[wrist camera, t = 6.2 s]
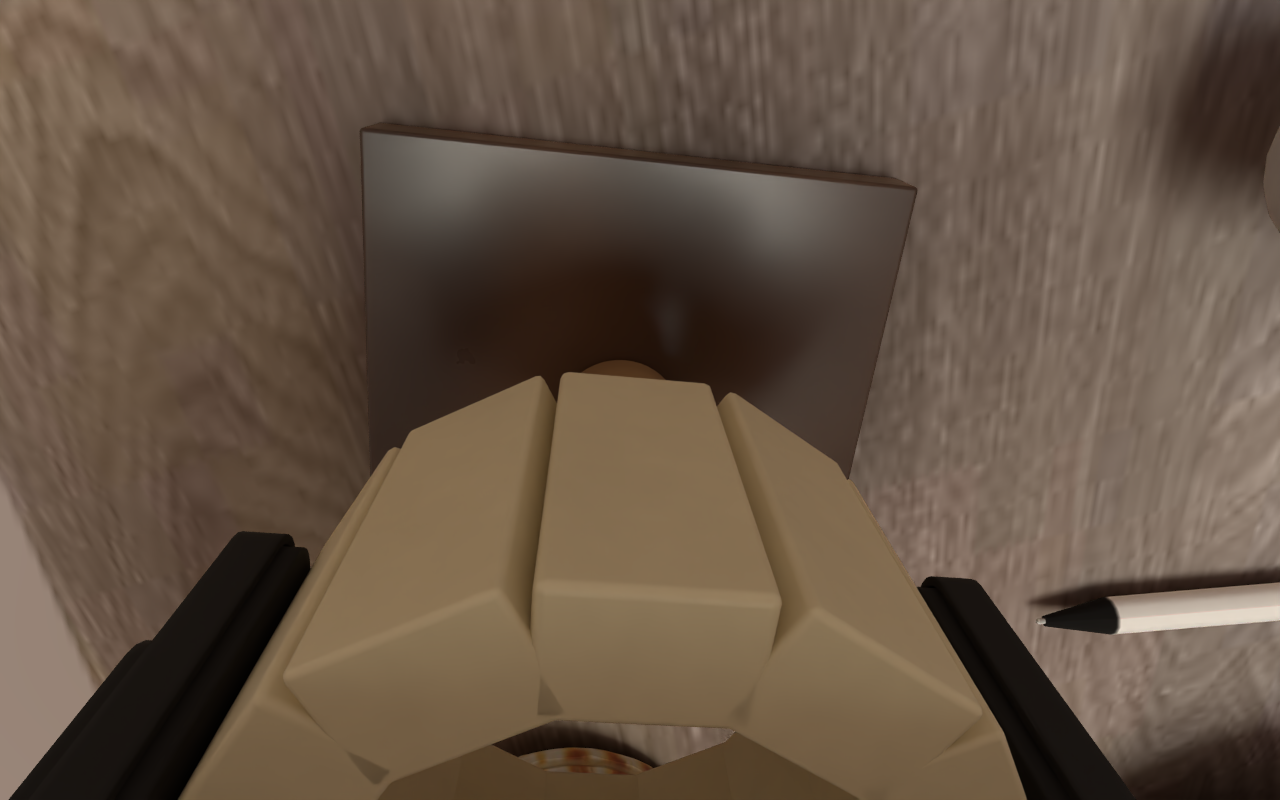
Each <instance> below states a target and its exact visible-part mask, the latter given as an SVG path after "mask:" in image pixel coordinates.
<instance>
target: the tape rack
mask: <svg viewBox="0 0 1280 800" xmlns="http://www.w3.org/2000/svg"><path fill="white" fill-rule="evenodd" d="M360 151H361V185H362V218H363V251H364V285H365V318H366V352H367V385H368V419H369V452H370V477H371V475H372V474H373V472H374V471H375V469H376V468H377V467H378V465H379V464H380V462H381V461H382V459H383V458H384V456H385V455H386V453H387V452H388V451H389V450H390V449H392V448H394V447H396V448H400V449H401V448H402V446H403V444H404V442H405V440H406V438H407V436H408V434H409V433H410V432H411V431H412V430H414V429H416V428H419V427H421V426H423V425H426V424H428V423H430V422H432V421H435V420H437V419H439V418H442V417H444V416H446V415H448V414H451V413H453V412H455V411H458V410H460V409H462V408H464V407H467V406H469V405H471V404H474V403H476V402H478V401H480V400H483V399H485V398H487V397H490V396H492V395H494V394H496V393H499V392H501V391H503V390H506V389H508V388H510V387H512V386H515V385H517V384H519V383H522V382H524V381H526V380H528V379H531V378H533V377H535V376H541V377H542V378H543V379H544V380H545V382H546V384H547V386H548V388H549V390H550V391H551V393H552V395H553V397H554V399H555V401H556V403H557V400H558V392H559V385H560V379H561V377H562V375H563V374H564V373H568V372H573V373H585V374H597V375H609V376H621V377H633V378H645V379H657V380H669V381H681V382H693V383H704V384H706V385H708V386H710V388H711V391H712V394H713V397H714V400H715V403H716V406H718V405H719V403H720V402H721V401H722V400H723V399H724V397H725V396H726V395H727V394H729V393H730V392H731V393H735V394H737V395H738V396H740V397H741V398H743V399H744V400H746V401H747V402H749V403H750V404H752V405H753V406H754V407H756V408H757V409H759V410H760V411H762V412H763V413H765V414H766V415H768V416H769V417H771V418H772V419H773V420H775V421H776V422H778V423H779V424H781V425H782V426H784V427H785V428H787V429H788V430H790V431H791V432H792V433H794V434H795V435H797V436H798V437H800V438H801V439H803V440H804V441H806V442H807V443H809V444H810V445H811V446H813V447H814V448H816V449H817V450H819V451H820V452H822V453H823V454H825V455H826V456H828V457H829V458H830V459H832V460H833V461H835V462H836V463H837V464H838V466H839V467H840V469H841V471H842V472H843V474H844V476H845V477H846V479H847V480H848V479H849V475H850V470H851V466H852V462H853V458H854V454H855V450H856V445H857V441H858V437H859V433H860V429H861V424H862V420H863V416H864V412H865V408H866V404H867V399H868V395H869V391H870V387H871V383H872V378H873V374H874V370H875V366H876V362H877V358H878V353H879V349H880V345H881V341H882V337H883V332H884V328H885V324H886V320H887V316H888V312H889V307H890V303H891V299H892V295H893V291H894V287H895V282H896V278H897V274H898V270H899V266H900V261H901V257H902V253H903V249H904V245H905V241H906V236H907V232H908V228H909V224H910V220H911V215H912V211H913V207H914V203H915V199H916V195H917V188H916V187H914V186H912V185H910V184H908V183H905V182H903V181H901V180H898V179H896V178H888V177H879V176H870V175H860V174H851V173H842V172H832V171H823V170H814V169H805V168H795V167H786V166H777V165H768V164H758V163H749V162H740V161H731V160H721V159H712V158H703V157H694V156H684V155H675V154H666V153H657V152H647V151H638V150H629V149H620V148H610V147H601V146H592V145H583V144H573V143H564V142H555V141H546V140H536V139H527V138H518V137H509V136H499V135H490V134H481V133H472V132H462V131H453V130H444V129H435V128H425V127H416V126H407V125H398V124H388V123H377V124H374V125H370V126H367V127H364V128H361V130H360Z"/></svg>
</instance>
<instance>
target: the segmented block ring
mask: <svg viewBox="0 0 1280 800" xmlns="http://www.w3.org/2000/svg"><path fill="white" fill-rule="evenodd" d="M555 720H561V721H582V722H603V723H624V724H645V725H666V726H687V727H707V728H728V729H731V730H733V731H735V733H734V734H733V735H732V736H731V737H730V738H729V739H728V740H727V741H726V742H725V743H722V744H719V745H716V746H714V747H711V748H708V749H705V750H703V751H700V752H697V753H694V754H692V755H689V756H686V757H683V758H681V759H678V760H675V761H672V762H670V763H667V764H664V765H661V766H659V767H656V768H653V769H650V770H648V771H645V772H642V773H639V774H637V775H621V774H598V773H574V772H551V771H545V770H543V769H541V768H539V767H537V766H535V765H533V764H530V763H528V762H526V761H524V760H522V759H520V758H518V757H516V756H514V755H512V754H510V753H508V752H506V751H504V750H502V749H500V748H498V747H495V746H493V745H491V744H494V743H496V742H499V741H502V740H504V739H507V738H510V737H512V736H515V735H518V734H520V733H523V732H525V731H528V730H531V729H533V728H536V727H539V726H541V725H544V724H547V723H549V722H552V721H555ZM178 800H1027V798H1026V795H1025V792H1024V789H1023V786H1022V783H1021V781H1020V778H1019V775H1018V772H1017V769H1016V766H1015V763H1014V760H1013V757H1012V754H1011V752H1010V749H1009V746H1008V743H1007V740H1006V737H1005V734H1004V732H1003V730H1002V728H1001V727H1000V725H999V724H998V722H997V720H996V719H995V717H994V715H993V714H992V712H991V710H990V709H989V707H988V705H987V704H986V702H985V700H984V699H983V697H982V695H981V694H980V692H979V690H978V689H977V687H976V685H975V684H974V682H973V680H972V679H971V677H970V675H969V674H968V672H967V670H966V669H965V667H964V665H963V664H962V662H961V660H960V659H959V657H958V655H957V654H956V652H955V650H954V649H953V647H952V645H951V644H950V642H949V641H948V639H947V637H946V636H945V634H944V632H943V631H942V629H941V627H940V626H939V624H938V622H937V621H936V619H935V617H934V616H933V614H932V612H931V611H930V609H929V607H928V606H927V604H926V602H925V601H924V599H923V597H922V596H921V594H920V592H919V591H918V589H917V587H916V586H915V584H914V582H913V581H912V579H911V577H910V576H909V574H908V572H907V571H906V569H905V567H904V566H903V564H902V562H901V561H900V559H899V557H898V556H897V554H896V553H895V551H894V549H893V548H892V546H891V544H890V543H889V541H888V539H887V538H886V536H885V534H884V533H883V531H882V529H881V528H880V526H879V524H878V523H877V521H876V519H875V518H874V516H873V514H872V513H871V511H870V509H869V508H868V506H867V504H866V503H865V501H864V499H863V498H862V496H861V494H860V493H859V491H858V489H857V488H856V486H855V484H854V483H853V482H852V481H851V480H847V479H846V477H845V476H844V474H843V472H842V471H841V469H840V467H839V466H838V464H837V463H836V462H835V461H833V460H832V459H830V458H829V457H828V456H826V455H825V454H823V453H822V452H820V451H819V450H817V449H816V448H814V447H813V446H811V445H810V444H809V443H807V442H806V441H804V440H803V439H801V438H800V437H798V436H797V435H795V434H794V433H792V432H791V431H790V430H788V429H787V428H785V427H784V426H782V425H781V424H779V423H778V422H776V421H775V420H773V419H772V418H771V417H769V416H768V415H766V414H765V413H763V412H762V411H760V410H759V409H757V408H756V407H754V406H753V405H752V404H750V403H749V402H747V401H746V400H744V399H743V398H741V397H740V396H738V395H737V394H735V393H731V392H730V393H729V394H727V395H726V396H725V397H724V399H723V400H722V401H721V402H720V403H719V405H718V406H716V403H715V400H714V397H713V394H712V391H711V388H710V386H708V385H706V384H704V383H693V382H681V381H669V380H657V379H645V378H633V377H621V376H609V375H597V374H585V373H573V372H568V373H564V374H563V375H562V377H561V379H560V385H559V392H558V400H557V403H556V401H555V399H554V397H553V395H552V393H551V391H550V390H549V388H548V386H547V384H546V382H545V380H544V379H543V378H542V377H541V376H535V377H533V378H531V379H528V380H526V381H524V382H522V383H519V384H517V385H515V386H512V387H510V388H508V389H506V390H503V391H501V392H499V393H496V394H494V395H492V396H490V397H487V398H485V399H483V400H480V401H478V402H476V403H474V404H471V405H469V406H467V407H464V408H462V409H460V410H458V411H455V412H453V413H451V414H448V415H446V416H444V417H442V418H439V419H437V420H435V421H432V422H430V423H428V424H426V425H423V426H421V427H419V428H416V429H414V430H412V431H411V432H410V433H409V434H408V436H407V438H406V440H405V442H404V444H403V446H402V448H401V449H400V448H396V447H394V448H392V449H390V450H389V451H388V452H387V453H386V455H385V456H384V458H383V459H382V461H381V462H380V464H379V465H378V467H377V468H376V469H375V471H374V472H373V474H372V475H371V477H370V478H369V480H368V481H367V483H366V484H365V486H364V487H363V489H362V490H361V492H360V493H359V495H358V496H357V498H356V499H355V501H354V502H353V504H352V505H351V507H350V508H349V509H348V511H347V512H346V514H345V515H344V517H343V518H342V520H341V521H340V523H339V524H338V526H337V527H336V529H335V530H334V532H333V533H332V535H331V536H330V538H329V539H328V541H327V542H326V544H325V545H324V547H323V549H322V550H321V552H320V554H319V556H318V557H317V559H316V561H315V562H314V564H313V566H312V568H311V569H310V571H309V573H308V575H307V576H306V578H305V580H304V582H303V583H302V585H301V587H300V588H299V590H298V592H297V594H296V595H295V597H294V599H293V601H292V602H291V604H290V606H289V607H288V609H287V611H286V613H285V614H284V616H283V618H282V620H281V621H280V623H279V625H278V627H277V628H276V630H275V632H274V633H273V635H272V637H271V639H270V640H269V642H268V644H267V646H266V647H265V649H264V651H263V653H262V654H261V656H260V658H259V659H258V661H257V663H256V665H255V666H254V668H253V670H252V672H251V673H250V675H249V677H248V678H247V680H246V682H245V684H244V685H243V687H242V689H241V691H240V692H239V694H238V696H237V698H236V699H235V701H234V703H233V704H232V706H231V708H230V710H229V711H228V713H227V715H226V717H225V718H224V720H223V722H222V724H221V725H220V727H219V729H218V730H217V732H216V734H215V736H214V737H213V739H212V741H211V743H210V744H209V746H208V748H207V749H206V751H205V753H204V755H203V756H202V758H201V760H200V762H199V763H198V765H197V767H196V769H195V770H194V772H193V774H192V775H191V777H190V779H189V781H188V782H187V784H186V786H185V788H184V789H183V791H182V793H181V795H180V796H179V798H178Z"/></svg>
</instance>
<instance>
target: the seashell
mask: <svg viewBox="0 0 1280 800" xmlns="http://www.w3.org/2000/svg"><path fill="white" fill-rule="evenodd" d="M518 758H520V759H522V760H524V761H526V762H528V763H530V764H533V765H535V766H537V767H539V768H541V769H543V770H545V771H551V772H574V773H598V774H621V775H637V774H639V773H642V772H645V771H648V770H650V769H653V768H652V767H651V766H649V765H647V764H645V763H643V762H641V761H639V760H636V759H633V758H630V757H627V756H624V755H620V754H617V753H613V752H609V751H605V750H599V749H593V748H574V747H572V748H559V749H551V750H545V751H540V752H535V753H531V754H527V755H522V756H519V757H518Z"/></svg>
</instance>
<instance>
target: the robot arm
mask: <svg viewBox="0 0 1280 800" xmlns="http://www.w3.org/2000/svg"><path fill="white" fill-rule="evenodd" d="M309 571H310V559H309V553H308V550H307V549H306V548H303V547H295V544H294V541H293V538H292V536H290V535H289V534H276V533H260V532H245V531H242V532H238V533H237V534H236V535H235V536H234V537H233V538H232V539H231V540H230V542H229V543H228V544H227V546H226V547H225V548H224V549H223V551H222V552H221V553H220V554H219V556H218V557H217V558H216V560H215V561H214V562H213V563H212V565H211V566H210V567H209V569H208V570H207V571H206V572H205V574H204V575H203V576H202V578H201V579H200V580H199V581H198V583H197V584H196V585H195V587H194V588H193V589H192V590H191V592H190V593H189V594H188V595H187V597H186V598H185V599H184V601H183V602H182V603H181V604H180V606H179V607H178V608H177V610H176V611H175V612H174V613H173V615H172V616H171V617H170V619H169V620H168V621H167V622H166V624H165V625H164V626H163V628H162V629H161V630H160V631H159V633H158V634H157V635H156V637H155V638H154V639H153V640H152V641H151V640H145V641H143V642H141V643H138V644H136V645H135V646H134V647H133V648H132V649H131V650H130V651H129V652H128V653H127V654H126V655H125V656H124V657H123V659H122V660H121V661H120V662H119V664H118V665H117V666H116V667H115V668H114V670H113V671H112V672H111V673H110V675H109V676H108V677H107V678H106V680H105V681H104V682H103V683H102V685H101V686H100V687H99V688H98V690H97V691H96V692H95V693H94V695H93V696H92V697H91V698H90V699H89V701H88V702H87V703H86V705H85V706H84V707H83V708H82V709H81V711H80V712H79V713H78V714H77V716H76V717H75V718H74V719H73V721H72V722H71V723H70V724H69V726H68V727H67V728H66V729H65V731H64V732H63V733H62V734H61V735H60V737H59V738H58V739H57V740H56V742H55V743H54V744H53V745H52V747H51V748H50V749H49V750H48V752H47V753H46V754H45V755H44V757H43V758H42V759H41V760H40V761H39V763H38V764H37V765H36V766H35V768H34V769H33V770H32V771H31V773H30V774H29V775H28V776H27V778H26V779H25V780H24V781H23V783H22V784H21V785H20V786H19V787H18V789H17V790H16V791H15V792H14V794H13V795H12V796H11V797H10V799H9V800H178V798H179V796H180V795H181V793H182V791H183V789H184V788H185V786H186V784H187V782H188V781H189V779H190V777H191V775H192V774H193V772H194V770H195V769H196V767H197V765H198V763H199V762H200V760H201V758H202V756H203V755H204V753H205V751H206V749H207V748H208V746H209V744H210V743H211V741H212V739H213V737H214V736H215V734H216V732H217V730H218V729H219V727H220V725H221V724H222V722H223V720H224V718H225V717H226V715H227V713H228V711H229V710H230V708H231V706H232V704H233V703H234V701H235V699H236V698H237V696H238V694H239V692H240V691H241V689H242V687H243V685H244V684H245V682H246V680H247V678H248V677H249V675H250V673H251V672H252V670H253V668H254V666H255V665H256V663H257V661H258V659H259V658H260V656H261V654H262V653H263V651H264V649H265V647H266V646H267V644H268V642H269V640H270V639H271V637H272V635H273V633H274V632H275V630H276V628H277V627H278V625H279V623H280V621H281V620H282V618H283V616H284V614H285V613H286V611H287V609H288V607H289V606H290V604H291V602H292V601H293V599H294V597H295V595H296V594H297V592H298V590H299V588H300V587H301V585H302V583H303V582H304V580H305V578H306V576H307V575H308V573H309ZM917 589H918V591H919V592H920V594H921V596H922V597H923V599H924V601H925V602H926V604H927V606H928V607H929V609H930V611H931V612H932V614H933V616H934V617H935V619H936V621H937V622H938V624H939V626H940V627H941V629H942V631H943V632H944V634H945V636H946V637H947V639H948V641H949V642H950V644H951V645H952V647H953V649H954V650H955V652H956V654H957V655H958V657H959V659H960V660H961V662H962V664H963V665H964V667H965V669H966V670H967V672H968V674H969V675H970V677H971V679H972V680H973V682H974V684H975V685H976V687H977V689H978V690H979V692H980V694H981V695H982V697H983V699H984V700H985V702H986V704H987V705H988V707H989V709H990V710H991V712H992V714H993V715H994V717H995V719H996V720H997V722H998V724H999V725H1000V727H1001V728H1002V730H1003V732H1004V734H1005V737H1006V740H1007V743H1008V746H1009V749H1010V752H1011V754H1012V757H1013V760H1014V763H1015V766H1016V769H1017V772H1018V775H1019V778H1020V781H1021V783H1022V786H1023V789H1024V792H1025V795H1026V798H1027V800H1136V799H1135V797H1134V796H1133V795H1132V793H1131V792H1130V790H1129V789H1128V788H1127V786H1126V785H1125V784H1124V782H1123V781H1122V779H1121V778H1120V777H1119V775H1118V774H1117V772H1116V771H1115V770H1114V768H1113V767H1112V766H1111V764H1110V763H1109V761H1108V760H1107V759H1106V757H1105V756H1104V755H1103V753H1102V752H1101V750H1100V749H1099V748H1098V746H1097V745H1096V744H1095V742H1094V741H1093V739H1092V738H1091V737H1090V735H1089V734H1088V732H1087V731H1086V730H1085V728H1084V727H1083V726H1082V724H1081V723H1080V721H1079V720H1078V719H1077V717H1076V716H1075V715H1074V713H1073V712H1072V710H1071V709H1070V708H1069V706H1068V705H1067V704H1066V702H1065V701H1064V699H1063V698H1062V697H1061V695H1060V694H1059V693H1058V691H1057V690H1056V688H1055V687H1054V686H1053V684H1052V683H1051V681H1050V680H1049V679H1048V677H1047V676H1046V675H1045V673H1044V672H1043V670H1042V669H1041V668H1040V666H1039V665H1038V664H1037V662H1036V661H1035V659H1034V658H1033V657H1032V655H1031V654H1030V653H1029V651H1028V650H1027V648H1026V647H1025V646H1024V644H1023V643H1022V641H1021V640H1020V639H1019V637H1018V636H1017V635H1016V633H1015V632H1014V630H1013V629H1012V628H1011V626H1010V625H1009V624H1008V622H1007V621H1006V619H1005V618H1004V617H1003V615H1002V614H1001V613H1000V611H999V610H998V608H997V607H996V606H995V604H994V603H993V602H992V600H991V599H990V597H989V596H988V595H987V593H986V592H985V590H984V589H983V588H982V586H981V585H980V584H979V583H978V582H977V581H976V580H972V579H964V578H949V577H933V576H930V577H928V578H926V579H925V580H924V581H923V583H922V585H921V587H917Z"/></svg>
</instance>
